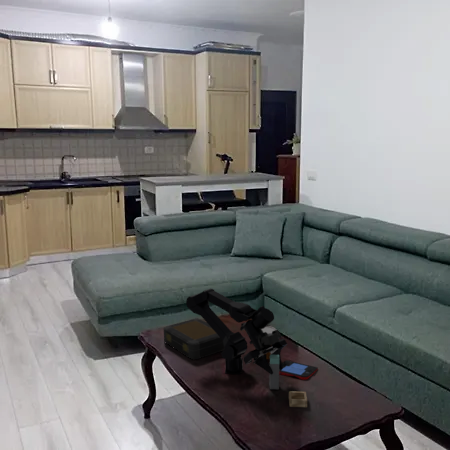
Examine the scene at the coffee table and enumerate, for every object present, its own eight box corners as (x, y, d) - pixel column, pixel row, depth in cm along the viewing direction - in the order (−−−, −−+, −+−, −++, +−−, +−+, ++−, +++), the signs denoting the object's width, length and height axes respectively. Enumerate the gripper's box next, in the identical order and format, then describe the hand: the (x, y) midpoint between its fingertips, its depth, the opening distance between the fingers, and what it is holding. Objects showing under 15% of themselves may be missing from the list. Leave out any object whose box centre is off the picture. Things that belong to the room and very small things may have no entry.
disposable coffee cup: (251, 359, 211) (251, 332, 208) (258, 350, 219) (258, 324, 217) (273, 362, 207) (273, 335, 205) (279, 353, 216) (279, 327, 214)
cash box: (230, 348, 222) (230, 332, 220) (193, 361, 209) (192, 344, 208) (198, 332, 241) (198, 316, 240) (162, 342, 229) (162, 326, 227)
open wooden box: (289, 408, 172) (289, 400, 172) (288, 399, 178) (288, 391, 178) (307, 408, 172) (307, 400, 171) (305, 399, 178) (305, 391, 177)
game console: (318, 370, 201) (318, 364, 201) (306, 383, 190) (306, 377, 190) (285, 362, 209) (286, 357, 208) (272, 374, 198) (272, 369, 198)
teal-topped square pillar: (269, 389, 184) (270, 358, 182) (269, 384, 187) (269, 354, 185) (278, 389, 184) (279, 358, 181) (278, 384, 187) (279, 354, 185)
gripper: (248, 331, 178) (270, 370, 172) (284, 318, 190) (305, 355, 184) (234, 345, 185) (254, 383, 179) (269, 332, 197) (289, 367, 191)
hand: (277, 371), depth 183 cm, fingers closed on teal-topped square pillar, 5 cm apart
